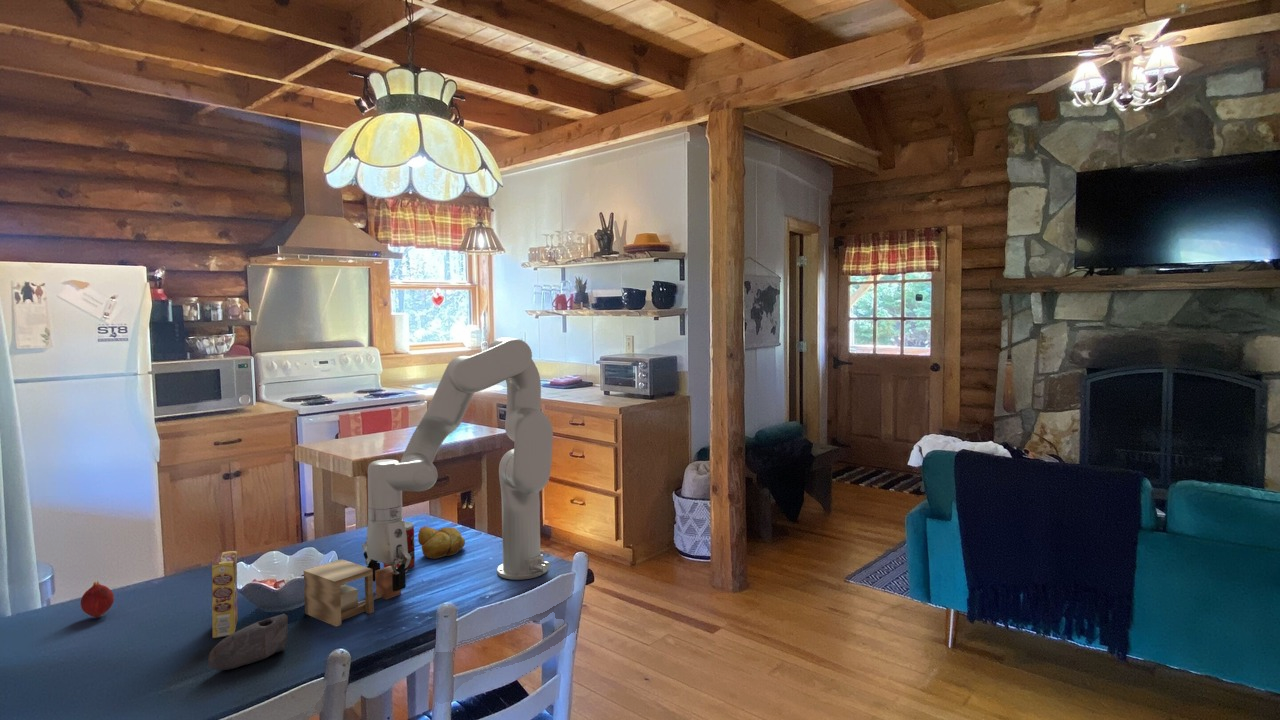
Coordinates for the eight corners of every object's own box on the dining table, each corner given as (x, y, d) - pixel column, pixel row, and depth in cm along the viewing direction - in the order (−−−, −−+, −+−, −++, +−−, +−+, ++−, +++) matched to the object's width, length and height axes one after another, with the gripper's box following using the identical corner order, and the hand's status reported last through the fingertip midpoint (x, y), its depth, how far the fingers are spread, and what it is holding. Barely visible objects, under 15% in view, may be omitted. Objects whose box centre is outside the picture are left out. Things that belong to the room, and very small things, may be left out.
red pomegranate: (120, 614, 156) (118, 579, 156) (91, 624, 151) (89, 588, 150) (105, 610, 158) (103, 575, 158) (75, 620, 153) (73, 584, 153)
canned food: (409, 571, 181) (407, 529, 181) (378, 571, 181) (377, 529, 181) (419, 561, 189) (417, 521, 188) (389, 561, 189) (388, 521, 188)
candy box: (236, 635, 145) (233, 562, 144) (212, 639, 143) (209, 565, 142) (239, 618, 153) (237, 549, 152) (216, 622, 151) (213, 552, 150)
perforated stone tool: (214, 681, 126) (212, 643, 126) (203, 672, 130) (201, 635, 129) (298, 650, 138) (297, 615, 138) (286, 643, 141) (285, 609, 141)
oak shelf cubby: (373, 612, 156) (372, 569, 155) (336, 626, 148) (334, 581, 148) (342, 600, 163) (341, 559, 162) (305, 613, 155) (303, 570, 155)
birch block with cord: (402, 594, 166) (401, 569, 166) (337, 618, 153) (336, 591, 152) (389, 589, 169) (388, 565, 169) (324, 613, 155) (323, 586, 155)
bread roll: (458, 545, 203) (458, 517, 202) (474, 553, 195) (473, 524, 195) (415, 554, 195) (414, 526, 194) (429, 563, 187) (428, 534, 187)
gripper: (422, 515, 163) (423, 588, 164) (377, 504, 173) (378, 573, 174) (394, 522, 157) (395, 598, 157) (349, 510, 167) (350, 582, 167)
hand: (386, 585), depth 165 cm, fingers open, 9 cm apart
